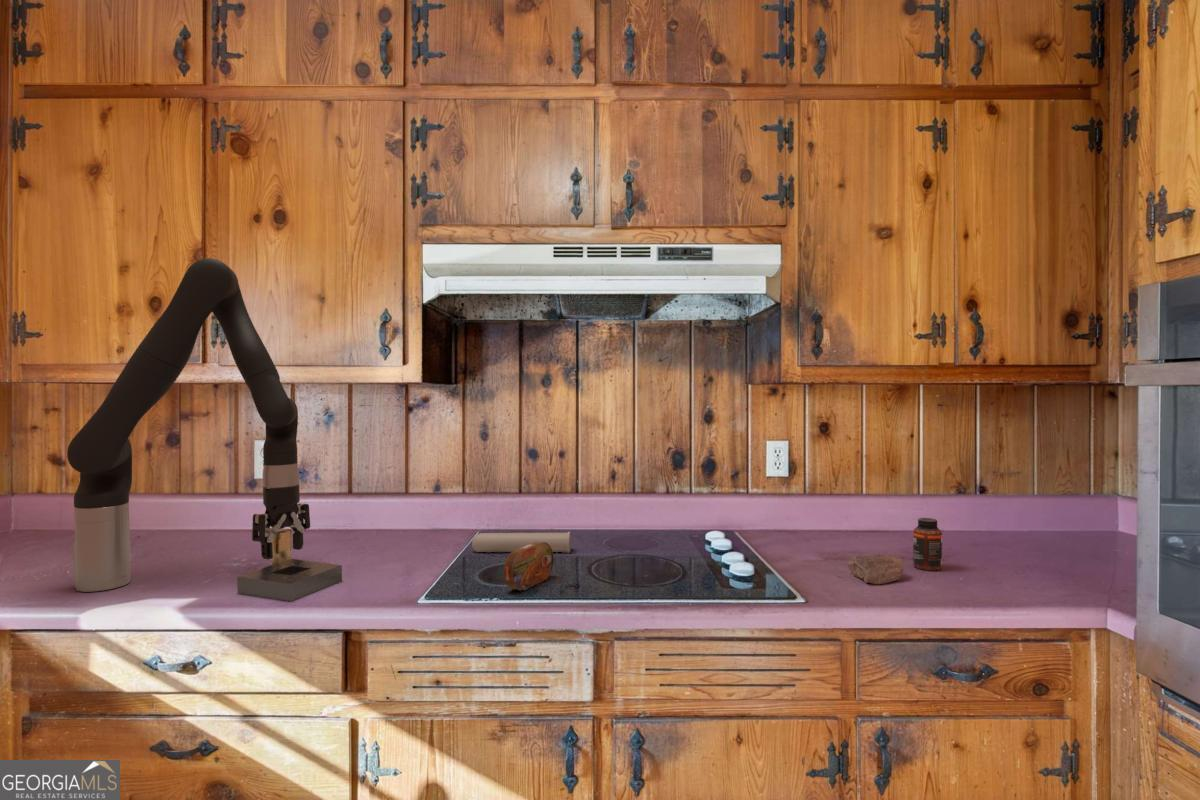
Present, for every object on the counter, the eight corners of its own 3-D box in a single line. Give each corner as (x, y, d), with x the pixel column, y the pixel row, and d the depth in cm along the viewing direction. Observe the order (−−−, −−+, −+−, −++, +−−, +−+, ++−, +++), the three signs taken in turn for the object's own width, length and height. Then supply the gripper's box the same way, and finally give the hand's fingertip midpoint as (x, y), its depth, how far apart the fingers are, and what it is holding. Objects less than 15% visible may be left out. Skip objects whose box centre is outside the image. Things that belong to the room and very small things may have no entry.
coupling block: (237, 593, 132) (237, 576, 132) (291, 574, 145) (291, 558, 145) (290, 601, 127) (290, 583, 127) (341, 581, 141) (341, 565, 140)
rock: (868, 587, 137) (869, 564, 137) (839, 573, 147) (839, 552, 146) (915, 582, 140) (915, 560, 140) (883, 569, 150) (883, 549, 150)
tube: (468, 539, 162) (569, 539, 162) (473, 528, 167) (570, 527, 167) (470, 558, 164) (569, 557, 164) (474, 546, 169) (570, 545, 169)
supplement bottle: (947, 569, 149) (948, 520, 149) (932, 573, 146) (932, 523, 146) (922, 563, 155) (923, 515, 154) (907, 566, 152) (908, 518, 151)
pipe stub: (268, 571, 148) (267, 532, 148) (282, 566, 152) (281, 528, 151) (281, 573, 146) (281, 533, 146) (295, 568, 150) (295, 529, 150)
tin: (513, 596, 131) (513, 554, 131) (501, 593, 133) (501, 552, 132) (554, 576, 144) (554, 538, 144) (543, 574, 146) (542, 537, 145)
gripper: (293, 478, 157) (294, 545, 157) (242, 487, 143) (244, 560, 144) (317, 479, 154) (319, 547, 154) (268, 489, 141) (269, 563, 141)
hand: (283, 553), depth 149 cm, fingers open, 8 cm apart
